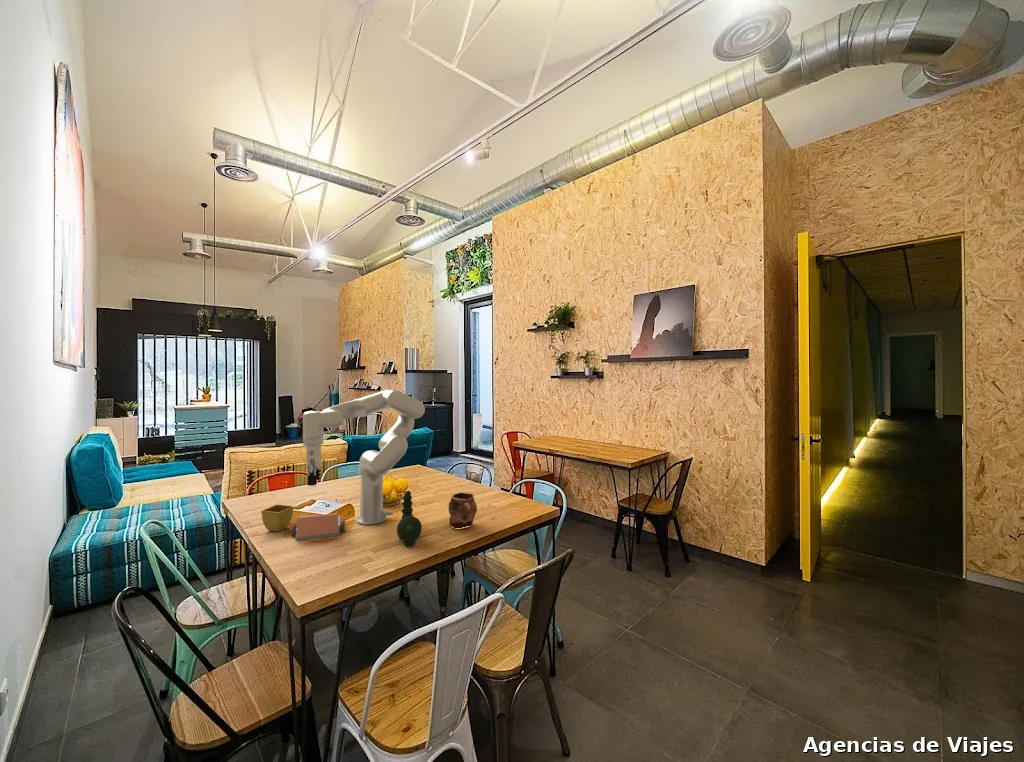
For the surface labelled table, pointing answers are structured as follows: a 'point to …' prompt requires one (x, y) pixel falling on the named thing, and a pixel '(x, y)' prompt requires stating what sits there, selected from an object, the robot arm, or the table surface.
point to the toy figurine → (408, 523)
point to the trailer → (294, 532)
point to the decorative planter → (462, 510)
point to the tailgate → (317, 525)
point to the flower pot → (277, 517)
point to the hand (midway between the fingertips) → (313, 482)
